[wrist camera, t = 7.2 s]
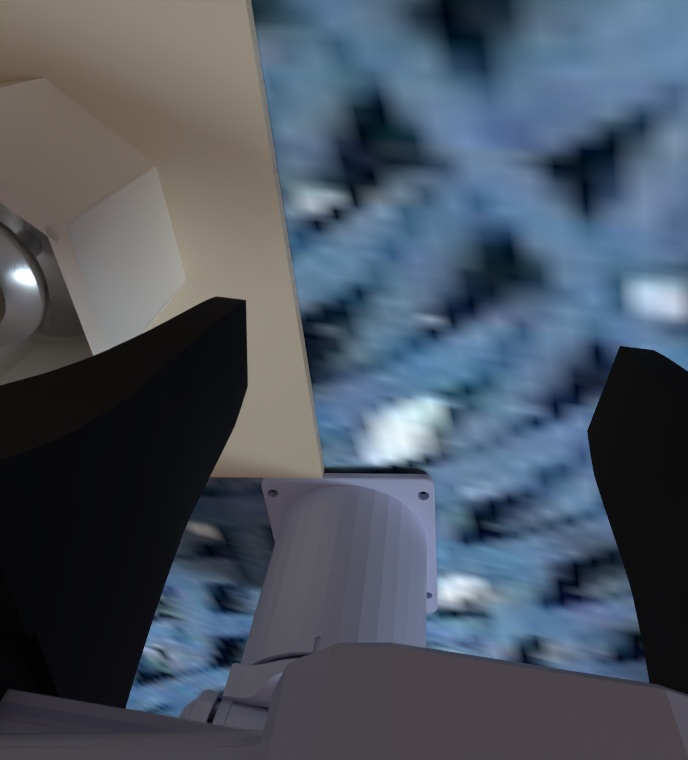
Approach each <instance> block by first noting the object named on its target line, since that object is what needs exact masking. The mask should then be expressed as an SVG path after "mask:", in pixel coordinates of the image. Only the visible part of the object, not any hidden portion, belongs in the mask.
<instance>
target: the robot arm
mask: <svg viewBox="0 0 688 760" xmlns="http://www.w3.org/2000/svg"><path fill="white" fill-rule="evenodd" d="M247 387H248V366H247V320H246V300H242V299H234V298H226V297H218V296H215V297H213V298H210V299H208V300H206V301H204V302H202V303H200V304H198V305H196V306H194V307H192V308H190V309H188V310H186V311H184V312H183V313H181V314H179V315H177V316H175V317H173V318H171V319H169V320H168V321H166V322H164V323H162V324H160V325H158V326H156V327H154V328H152V329H151V330H149V331H147V332H145V333H142V334H140V335H138V336H136V337H134V338H132V339H130V340H127V341H125V342H123V343H121V344H119V345H117V346H115V347H112V348H110V349H108V350H106V351H104V352H101V353H99V354H97V355H94V356H92V357H89V358H86V359H84V360H81V361H78V362H76V363H73V364H70V365H67V366H64V367H62V368H59V369H56V370H53V371H50V372H47V373H43V374H40V375H36V376H32V377H29V378H25V379H22V380H18V381H14V382H11V383H7V384H4V385H0V760H688V371H686V370H685V369H683V368H682V367H680V366H679V365H677V364H676V363H674V362H673V361H671V360H670V359H668V358H667V357H665V356H663V355H661V354H660V353H658V352H656V351H654V350H647V349H639V348H631V347H623V346H620V347H619V350H618V353H617V355H616V358H615V360H614V363H613V366H612V368H611V371H610V373H609V376H608V379H607V381H606V384H605V386H604V389H603V392H602V394H601V397H600V399H599V402H598V405H597V407H596V410H595V412H594V415H593V418H592V420H591V423H590V425H589V428H588V431H587V432H588V440H589V447H590V454H591V460H592V465H593V471H594V476H595V479H596V482H597V486H598V489H599V492H600V495H601V498H602V501H603V504H604V507H605V510H606V513H607V516H608V519H609V522H610V525H611V528H612V531H613V534H614V537H615V540H616V543H617V546H618V549H619V552H620V555H621V558H622V561H623V564H624V567H625V570H626V573H627V577H628V580H629V584H630V587H631V591H632V595H633V599H634V603H635V608H636V613H637V618H638V623H639V628H640V633H641V637H642V642H643V647H644V653H645V659H646V664H647V670H648V676H649V682H650V683H645V682H638V681H632V680H626V679H619V678H613V677H607V676H600V675H594V674H588V673H581V672H575V671H569V670H562V669H556V668H550V667H543V666H537V665H531V664H524V663H518V662H512V661H505V660H499V659H493V658H486V657H480V656H474V655H467V654H461V653H455V652H448V651H442V650H436V649H429V648H426V613H432V612H435V611H436V610H437V567H436V529H435V491H434V480H433V478H432V477H431V476H429V475H426V474H364V473H324V475H323V478H262V481H261V487H262V491H263V495H264V500H265V504H266V508H267V512H268V516H269V521H270V525H271V529H272V533H273V537H274V542H275V545H274V548H273V552H272V555H271V559H270V562H269V566H268V570H267V573H266V577H265V580H264V584H263V587H262V591H261V594H260V598H259V601H258V605H257V608H256V612H255V615H254V619H253V622H252V626H251V629H250V633H249V636H248V640H247V643H246V647H245V651H244V654H243V658H242V661H241V664H238V663H234V664H232V667H231V670H230V674H229V677H228V680H227V684H226V687H225V690H224V694H223V693H219V692H216V691H213V690H205V691H204V692H202V693H201V695H200V696H199V697H198V698H197V699H195V700H194V701H193V702H191V703H190V704H188V705H187V706H186V707H185V708H184V710H183V711H182V713H181V714H180V716H179V718H177V717H171V716H165V715H159V714H153V713H148V712H142V711H136V710H130V709H125V708H126V704H127V701H128V698H129V694H130V691H131V687H132V684H133V680H134V677H135V674H136V671H137V668H138V665H139V661H140V658H141V655H142V652H143V649H144V646H145V642H146V639H147V636H148V633H149V630H150V627H151V624H152V620H153V617H154V615H155V612H156V609H157V606H158V603H159V600H160V597H161V594H162V591H163V588H164V585H165V582H166V579H167V576H168V574H169V571H170V568H171V565H172V563H173V560H174V557H175V554H176V552H177V549H178V546H179V543H180V541H181V538H182V535H183V532H184V530H185V527H186V525H187V523H188V521H189V518H190V516H191V514H192V512H193V509H194V507H195V505H196V503H197V501H198V499H199V497H200V495H201V493H202V491H203V489H204V487H205V485H206V483H207V481H208V479H209V477H210V475H211V473H212V471H213V469H214V468H215V466H216V464H217V462H218V460H219V458H220V456H221V454H222V451H223V449H224V447H225V445H226V443H227V441H228V439H229V437H230V435H231V433H232V431H233V429H234V427H235V424H236V421H237V419H238V416H239V413H240V410H241V407H242V403H243V400H244V397H245V394H246V391H247ZM272 490H276V491H277V492H274V491H272ZM420 492H427V494H421V493H420Z"/></svg>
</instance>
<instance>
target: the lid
mask: <svg viewBox="0 0 688 760" xmlns="http://www.w3.org/2000/svg"><path fill="white" fill-rule="evenodd" d="M32 333H36V334H39V335H44V336H51V337H75V336H81V335H85V333H84V330H83V327H82V325H81V322H80V320H79V317H78V314H77V312H76V309H75V306H74V304H73V301H72V299H71V296H70V293H69V291H68V288H67V286H66V283H65V280H64V278H63V275H62V272H61V270H60V267H59V265H58V262H57V259H56V257H55V254H54V252H53V249H52V246H51V244H50V241H49V238H48V236H47V235H45V234H44V233H42V232H41V231H40V230H38V229H37V228H35V227H34V226H33V225H31V224H30V223H28V222H27V221H26V220H24V219H23V218H21V217H20V216H19V215H17V214H16V213H14V212H13V211H12V210H10V209H9V208H7V207H6V206H5V205H3V204H2V203H0V347H7V346H11V345H15V344H17V343H19V342H21V341H23V340H24V339H26V338H27V337H28V336H29V335H31V334H32Z"/></svg>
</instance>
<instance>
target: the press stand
mask: <svg viewBox="0 0 688 760" xmlns="http://www.w3.org/2000/svg"><path fill="white" fill-rule="evenodd" d="M0 203H2V204H3V205H5V206H6V207H7V208H9V209H10V210H12V211H13V212H14V213H16V214H17V215H19V216H20V217H21V218H23V219H24V220H26V221H27V222H28V223H30V224H31V225H33V226H34V227H35V228H37V229H38V230H40V231H41V232H42V233H44V234H45V235H47V236H48V238H49V241H50V244H51V246H52V249H53V252H54V254H55V257H56V259H57V262H58V265H59V267H60V270H61V272H62V275H63V278H64V280H65V283H66V286H67V288H68V291H69V293H70V296H71V299H72V301H73V304H74V306H75V309H76V312H77V314H78V317H79V320H80V322H81V325H82V327H83V330H84V333H85V335H81V336H75V337H51V336H44V335H39V334H36V333H32V334H31V335H29V336H28V337H27V338H26V339H24V340H23V341H21V342H19V343H17V344H15V345H11V346H7V347H0V385H4V384H7V383H11V382H14V381H18V380H22V379H25V378H29V377H32V376H36V375H40V374H43V373H47V372H50V371H53V370H56V369H59V368H62V367H64V366H67V365H70V364H73V363H76V362H78V361H81V360H84V359H86V358H89V357H92V356H94V355H97V354H99V353H101V352H104V351H106V350H108V349H110V348H112V347H115V346H117V345H119V344H121V343H123V342H125V341H127V340H130V339H132V338H134V337H136V336H138V335H140V334H142V333H145V332H147V331H149V330H151V329H152V328H154V327H156V326H158V325H160V324H162V323H164V322H166V321H168V320H169V319H171V318H173V317H175V316H177V315H179V314H181V313H183V312H184V311H186V310H188V309H190V308H192V307H194V306H196V305H198V304H200V303H202V302H204V301H206V300H208V299H210V298H213V297H215V296H218V297H226V298H234V299H242V300H246V320H247V366H248V387H247V391H246V394H245V397H244V400H243V403H242V407H241V410H240V413H239V416H238V419H237V421H236V424H235V427H234V429H233V431H232V433H231V435H230V437H229V439H228V441H227V443H226V445H225V447H224V449H223V451H222V454H221V456H220V458H219V460H218V462H217V464H216V466H215V468H214V469H213V471H212V473H211V475H210V477H238V478H323V475H324V470H325V469H324V462H323V456H322V449H321V443H320V437H319V430H318V424H317V418H316V411H315V405H314V399H313V392H312V386H311V379H310V373H309V367H308V360H307V354H306V348H305V341H304V335H303V328H302V322H301V316H300V309H299V303H298V297H297V290H296V284H295V278H294V271H293V265H292V258H291V252H290V246H289V239H288V233H287V227H286V220H285V214H284V208H283V201H282V195H281V188H280V182H279V176H278V169H277V163H276V157H275V150H274V144H273V137H272V131H271V125H270V118H269V112H268V106H267V99H266V93H265V87H264V80H263V74H262V67H261V61H260V55H259V48H258V42H257V36H256V29H255V23H254V16H253V10H252V4H251V0H0Z"/></svg>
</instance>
